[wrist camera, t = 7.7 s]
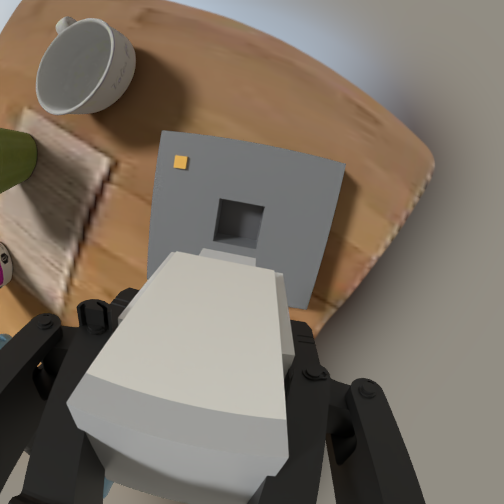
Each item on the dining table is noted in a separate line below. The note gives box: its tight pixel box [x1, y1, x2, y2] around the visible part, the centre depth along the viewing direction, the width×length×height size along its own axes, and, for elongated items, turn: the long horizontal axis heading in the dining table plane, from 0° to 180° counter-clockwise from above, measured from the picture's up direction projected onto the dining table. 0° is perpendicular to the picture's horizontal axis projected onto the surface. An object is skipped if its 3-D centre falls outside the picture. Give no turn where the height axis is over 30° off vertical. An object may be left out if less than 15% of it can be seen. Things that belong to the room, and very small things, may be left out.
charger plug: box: [66, 248, 289, 504], centre depth 11 cm, size 4×4×12 cm
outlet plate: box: [147, 130, 346, 310], centre depth 29 cm, size 16×18×4 cm
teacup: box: [36, 17, 136, 115], centre depth 21 cm, size 14×11×8 cm
